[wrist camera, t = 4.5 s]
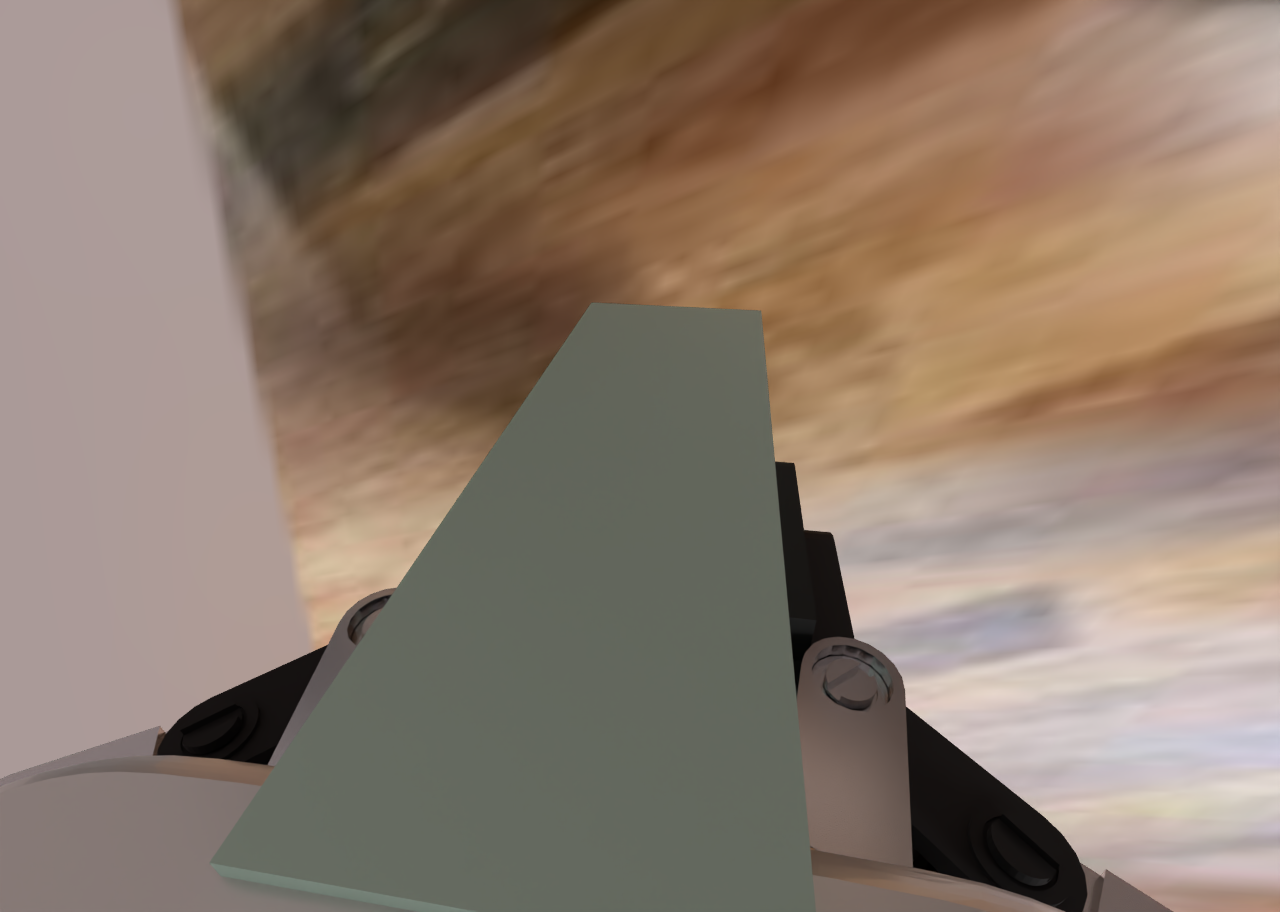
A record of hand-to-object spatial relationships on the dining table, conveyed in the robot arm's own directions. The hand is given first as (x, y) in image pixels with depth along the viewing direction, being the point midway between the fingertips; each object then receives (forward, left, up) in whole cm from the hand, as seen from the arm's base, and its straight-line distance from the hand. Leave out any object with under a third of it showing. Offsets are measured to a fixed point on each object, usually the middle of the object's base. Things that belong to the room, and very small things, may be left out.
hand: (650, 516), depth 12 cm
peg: (0, 0, -4) cm, 4 cm away
